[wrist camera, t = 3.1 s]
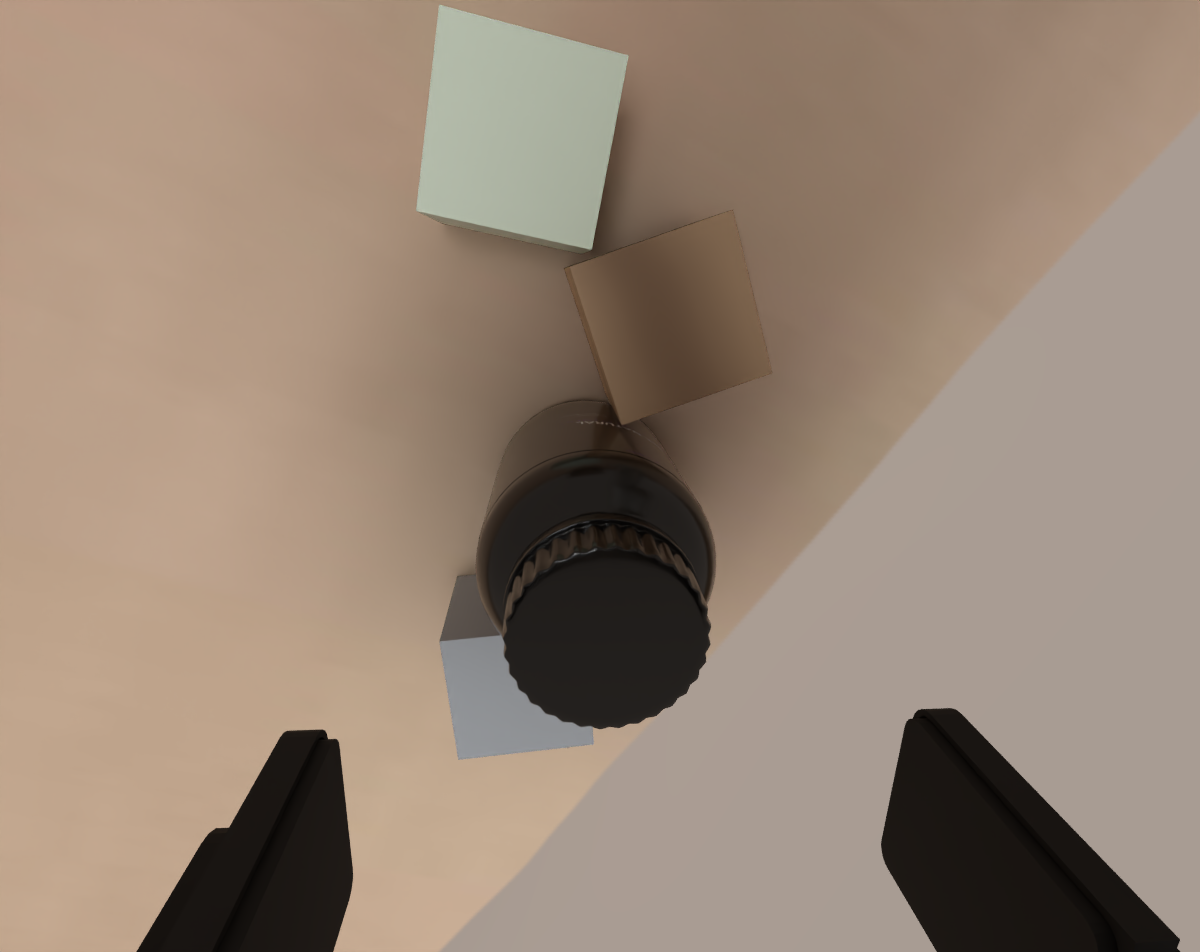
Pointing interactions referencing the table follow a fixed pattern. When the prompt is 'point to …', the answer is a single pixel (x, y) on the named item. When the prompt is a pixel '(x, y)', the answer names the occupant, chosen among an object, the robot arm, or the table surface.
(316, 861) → the robot arm
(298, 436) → the table surface
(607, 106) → the sage cube
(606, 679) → the supplement bottle
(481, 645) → the slate cube
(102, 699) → the table surface
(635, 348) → the walnut cube
